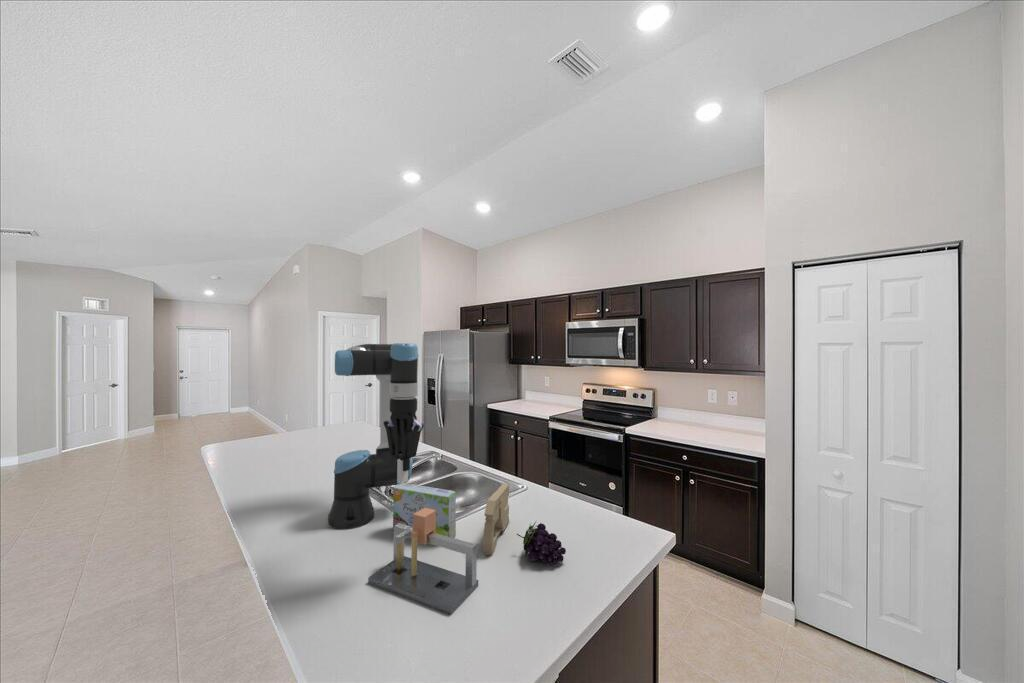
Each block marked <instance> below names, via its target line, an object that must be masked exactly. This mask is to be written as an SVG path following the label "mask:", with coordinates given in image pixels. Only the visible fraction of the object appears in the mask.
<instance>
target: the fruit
mask: <svg viewBox="0 0 1024 683" xmlns="http://www.w3.org/2000/svg"><path fill="white" fill-rule="evenodd" d="M536 523H537V521H535V522H534V523H533V524H532V523H530V524H529V527H528V528H527V529H526V531H525V534H524V536H522V535H520V534H519V533H516V535H517V536H518V537H519V538H522V539H523V540H522V544H523V546H522V548H523V551H524V552H525V553H524V556H525V558H526V559H529V561H531V562H535V561H537V560H538V558H539V559H541V560H542V561H543V562H544V563H545V564H547V563H548V562H549V563H550V564H551V565H554V564H556V563H562V562H563V561H564V558H565V557H564V555H565V554H566V552H567V550H566V548H565V547H562V542H561V541H560V540H558V537H557V535H556V534H555V533H553V532H551V533H550V532H548V530H547V529H546V525H545V524H544V523H542V522H540V523H539V524H537V525H535V524H536Z"/></svg>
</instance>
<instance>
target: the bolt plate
mask: <svg viewBox="0 0 1024 683" xmlns="http://www.w3.org/2000/svg"><path fill="white" fill-rule="evenodd" d="M411 559H412V557H407V556H405V555H404V559H402V574H400V575H398V574H397V561H394V560H392V561H390V562H388V563H387V564H386V565H384V566H383V567H381V568H379V570H376V572H374V573H372V574H371V575H369V576H368V577H367V578H368V579H367V583H368V584H369V585H371V586H374V587H377V588H380V589H382V590H384V591H387V592H389V593H392V594H395V595H397V596H400V597H403V598H404V599H405V598H406V599H408V600H410V601H413V602H415V603H418V604H421V605H424V606H426V607H429V608H431V609H433V610H437V611H439V612H442V613H443V614H447V615H449V616H452V615H453V613H455V611H457V610H458V608H459V607H460V606H461V605H462V604H463V603H464V602H465V601H466V600H467V599H468V597H470V596H471V594H473V592H474V591H475V590H476V589H477V588H478V587H479V579H477V578H476V583H475V584H474V585H473V586H469V585H466V584H465V579H466V575H464V574H460V573H458V572H455V571H451V570H448V569H447V568H446V569H445V568H442V567H439V566H436V565H433V564H429V563H426V562H425V561H421V560H418V559H417V574H416V575H415V576H413V575H411ZM440 587H441V588H444V589H440Z"/></svg>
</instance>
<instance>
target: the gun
mask: <svg viewBox="0 0 1024 683" xmlns="http://www.w3.org/2000/svg"><path fill="white" fill-rule="evenodd" d="M509 497H510V483H509V484H508V483H501V485H500V486H499V487H498V488H497V489H496V491H494V492H493V493H492V494H491V495H490V497H489V498H487V501H486V506H485V510H484V513H483V514H484V517H485V519H484V520H485V521H484V529H483V539H482V545H483V546H482V547H483V555H484V556H485V555H486V556H493V555H494V552H495V549H496V547H497V542H498V541H497V539H498V537H499V535H500V534H501V533H503V532H504V531H505V529H506V527H507V526H508V524H509V522H510V516H509V514H510V512H509V511H510V505H509Z"/></svg>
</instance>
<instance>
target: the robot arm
mask: <svg viewBox="0 0 1024 683" xmlns="http://www.w3.org/2000/svg"><path fill="white" fill-rule="evenodd" d="M334 353H335V354H334V374H335V375H336V376H344V377H352V376H353V377H354V376H375V377H376V379H377V380H378V381H379V384H380V385H379V386H380V387H379V392H380V394H379V396H380V399H379V400H380V403H379V406H380V407H379V409H380V413H379V414H380V415H379V416H380V417H379V418H380V419H379V420H380V425H379V428H380V429H379V431H380V433H379V434H380V435H379V437H380V441H379V442H380V444H379V445H378V446H377V447H376V448H375V453H373V454H371V452H370V450H368V449H359V450H354V451H350V452H346V453H344V454H341V455H339V456H338V457H337V458H336V459H335V462H334V469H333V474H334V475H333V476H334V478H333V479H334V482H333V487H334V488H333V501H332V505H331V509H330V512H329V513H328V516H327V525H328V526H329V527H330V528H334V529H338V530H339V529H340V530H347V529H355V528H358V527H361V526H364V525H366V524H368V523H370V522H372V520H373V519H374V518H375V508H374V506H373V503H372V499H371V497H370V489H372V488H373V489H374V488H380V487H381V488H384V487H390V486H391V487H392V486H397V485H399V484H402V483H408V482H409V481H410V480H411V476H412V470H413V464H414V463H413V460H414V458H415V457H417V452H418V447H419V443H420V437H421V432H422V431H423V429H424V426H425V425H424V423H420V422H419V421H418V418H417V415H416V414H417V411H418V398H417V396H418V391H419V390H418V386H419V385H418V367H419V365H418V363H419V348H418V345H417V344H416V343H408V342H407V343H398V342H397V343H391V344H390V343H364V344H363V343H362V344H359V345H354V346H351V347H349V348H347V349H342V350H341V349H339V350H336V352H334Z"/></svg>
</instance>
